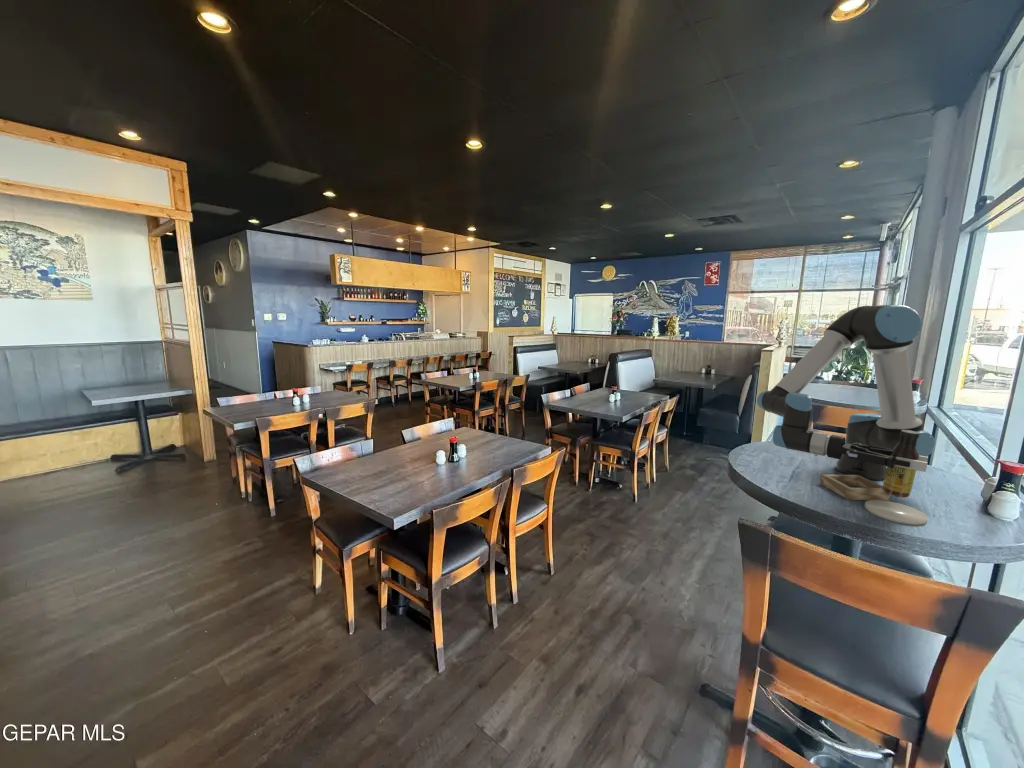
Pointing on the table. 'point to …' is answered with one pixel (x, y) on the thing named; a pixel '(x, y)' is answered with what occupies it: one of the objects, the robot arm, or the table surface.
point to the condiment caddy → (864, 492)
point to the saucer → (896, 512)
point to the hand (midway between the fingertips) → (926, 464)
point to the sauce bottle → (899, 477)
